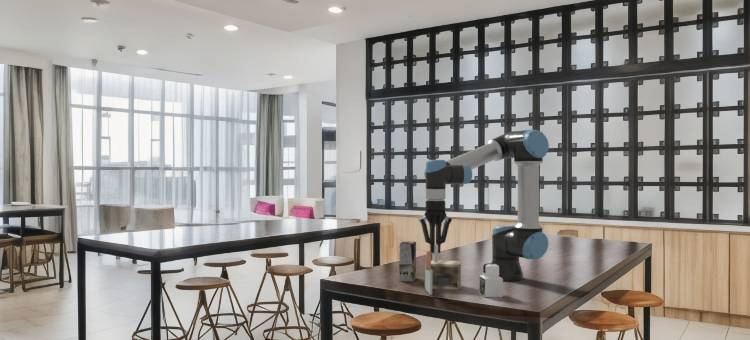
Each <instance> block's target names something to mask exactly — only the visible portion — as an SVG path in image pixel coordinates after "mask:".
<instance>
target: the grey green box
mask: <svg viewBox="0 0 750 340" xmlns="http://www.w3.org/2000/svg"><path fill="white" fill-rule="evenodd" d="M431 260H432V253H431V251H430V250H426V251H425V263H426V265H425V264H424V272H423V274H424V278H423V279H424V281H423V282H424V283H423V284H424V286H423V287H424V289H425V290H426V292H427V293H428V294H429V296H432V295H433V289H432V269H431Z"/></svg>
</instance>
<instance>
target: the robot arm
mask: <svg viewBox="0 0 750 340" xmlns="http://www.w3.org/2000/svg"><path fill="white" fill-rule="evenodd" d="M549 148H550V144H549V140H548V137H547V136H546V135H545V134H544V133H543V132H542V131H541V130H537V129H526V130H516V131H513V130H512V131H508V132H506V133H503V134H502V135H499V136H497V137H494V138H493V139H490V140H488V141H487V143H486V144H484V145H481V146H479V147H476V148H474V149H471V150H470V151H467V152H465V153H462V154H460V155H457V156H455V157H453V158H450V159H448V160H444V159H428V160H427V161H426V163H425V170H424V179H425V199H426V201H425V212H424V214H423V215H424V216H422V217H419V218H418V222H419V223H420V225H421V229H422V233H423V237H424V241H425V243H427V244H429V251H431V260H432V261H433V262H438V260H439V254H440V253H441V245H442V244H443V243H446V240H447V235H448V233H449V228H450V225H451V223H452V220H453V219H452V218H451V217H449V216H447V213H446V212H447V211H446V201H445V199H446V186H447V185H468V184H469V183H470V182H471V181H472V179H473V170H474V169H476V168H479V167H480V166H483V165H485V164H487V163H488V164H489V163H490V162H492V161H494V162H499V161H501V160H504V159H514V160H513V162H514V164H515V165H516V166H517V223H515V225H506V226H503V225H502V226H495V227H493V229H492V235H491V240H492V241H491V249H492V250H491V251H492V252H491V253H492V255H491V257H492V258H491V262H490V263H493V264H497V265H499V275H498V276H499V277H501V278H503V282H513V281H514V282H515V281H517V282H518V281H522V280H523V279H524V272H523V269H522V266H521V263H520V258H522V259H526V260H540V259H541V258H542V257H544V255H545V254H546V253H547V251H548V248H549V239H548V236H547V235H546V234H545V233H544V232H543V226H542V225H541V224H540V220H539V219H540V218H539V216H540V215H539V213H540V212H539V211H540V210H539V209H540V203H539V202H540V201H539V199H540V194H539V193H540V189H539V188H540V185H539V184H540V178H539V177H540V165H542V164H543V161H544V159H543V158H544V157H546V155H547V153H548V152H549ZM426 222H428V223H429V224H428V225H429V229H428V225H427V223H426ZM443 222H444V223H443ZM442 223H443V224H442ZM442 225H443V227H442Z"/></svg>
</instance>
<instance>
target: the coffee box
mask: <svg viewBox="0 0 750 340" xmlns="http://www.w3.org/2000/svg"><path fill="white" fill-rule="evenodd" d="M398 253H399V262H398V264H399V265H398V266H399V268H398V269H399V270H398V275H399V276H398V281H399V282H410V283H411V282H412V283H414V281H415V280H416V278H417V241H401V242H400V243H399V252H398Z"/></svg>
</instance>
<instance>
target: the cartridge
mask: <svg viewBox="0 0 750 340" xmlns="http://www.w3.org/2000/svg"><path fill="white" fill-rule="evenodd" d="M437 285H447V286H449V276H437Z"/></svg>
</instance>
